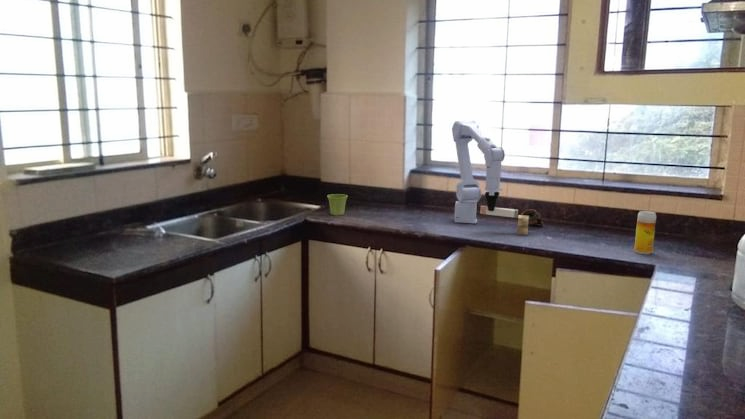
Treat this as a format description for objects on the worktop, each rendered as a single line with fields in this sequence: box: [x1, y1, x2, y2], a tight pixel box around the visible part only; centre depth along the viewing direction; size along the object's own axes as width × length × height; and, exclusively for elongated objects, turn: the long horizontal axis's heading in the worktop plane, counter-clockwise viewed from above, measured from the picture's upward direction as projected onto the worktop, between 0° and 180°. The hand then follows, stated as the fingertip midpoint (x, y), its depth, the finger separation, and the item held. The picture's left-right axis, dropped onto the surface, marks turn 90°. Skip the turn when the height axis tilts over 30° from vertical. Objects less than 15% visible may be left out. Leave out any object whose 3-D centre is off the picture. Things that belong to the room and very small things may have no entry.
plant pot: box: [326, 193, 349, 216], centre depth 276 cm, size 9×9×9 cm
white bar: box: [479, 205, 519, 219], centre depth 248 cm, size 15×3×3 cm, turn 77°
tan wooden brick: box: [516, 214, 529, 236], centre depth 246 cm, size 4×7×6 cm, turn 166°
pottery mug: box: [520, 209, 544, 228], centre depth 260 cm, size 12×10×8 cm
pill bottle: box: [633, 210, 657, 255], centre depth 217 cm, size 6×6×15 cm
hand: (491, 210), depth 248 cm, fingers closed on white bar, 3 cm apart
